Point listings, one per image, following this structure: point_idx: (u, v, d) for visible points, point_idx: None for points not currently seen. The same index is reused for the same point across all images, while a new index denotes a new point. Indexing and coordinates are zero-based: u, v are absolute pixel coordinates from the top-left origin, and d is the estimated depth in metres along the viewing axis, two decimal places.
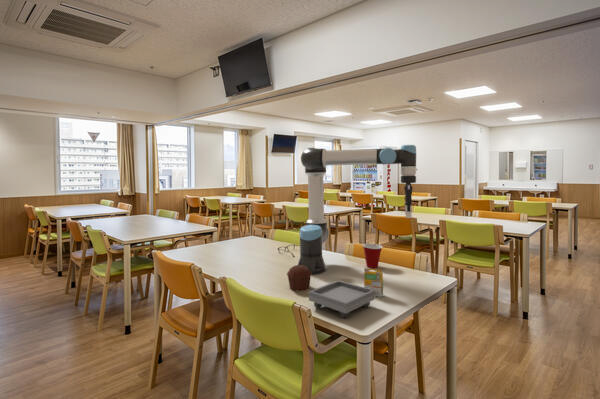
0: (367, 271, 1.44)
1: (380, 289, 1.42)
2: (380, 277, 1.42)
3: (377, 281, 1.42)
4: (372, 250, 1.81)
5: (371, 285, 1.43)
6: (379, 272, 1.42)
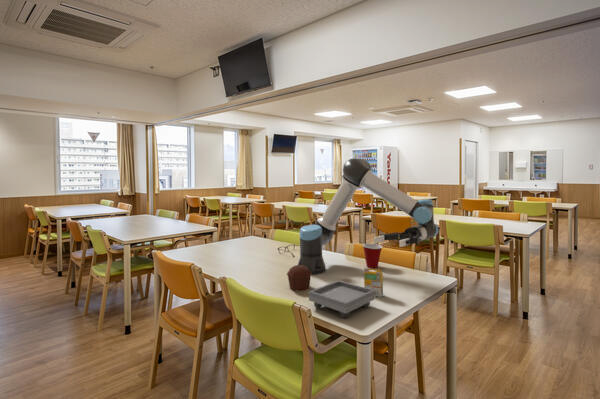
0: (367, 271, 1.44)
1: (380, 289, 1.42)
2: (380, 277, 1.42)
3: (377, 281, 1.42)
4: (372, 250, 1.81)
5: (371, 285, 1.43)
6: (379, 272, 1.42)
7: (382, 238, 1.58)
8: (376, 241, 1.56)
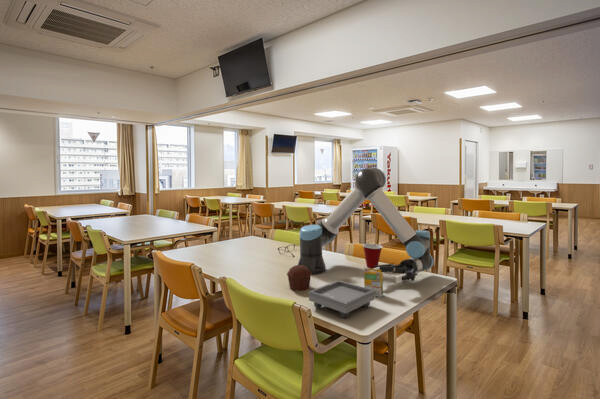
0: (367, 271, 1.44)
1: (380, 289, 1.42)
2: (380, 277, 1.42)
3: (377, 281, 1.42)
4: (372, 250, 1.81)
5: (371, 285, 1.43)
6: (379, 272, 1.42)
7: None
8: None
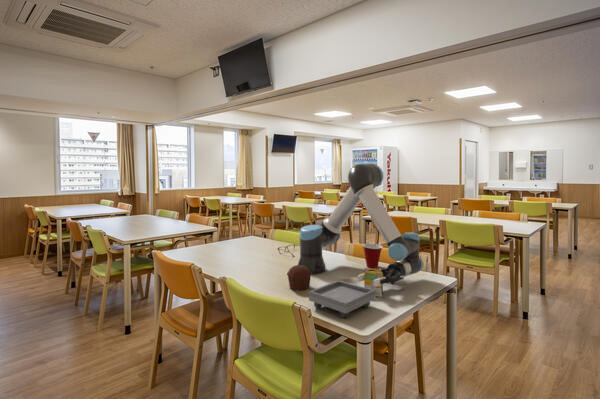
0: (367, 271, 1.44)
1: (380, 289, 1.42)
2: (380, 277, 1.42)
3: None
4: (372, 250, 1.81)
5: (371, 285, 1.43)
6: (379, 272, 1.42)
7: None
8: (360, 279, 1.45)
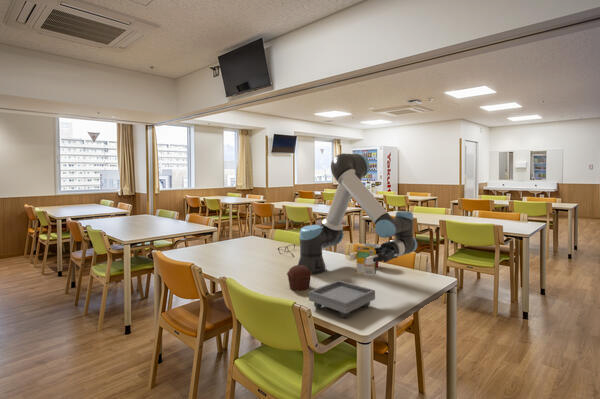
0: (360, 249, 1.37)
1: (373, 267, 1.36)
2: None
3: None
4: None
5: (364, 264, 1.37)
6: (372, 250, 1.35)
7: None
8: (352, 258, 1.38)
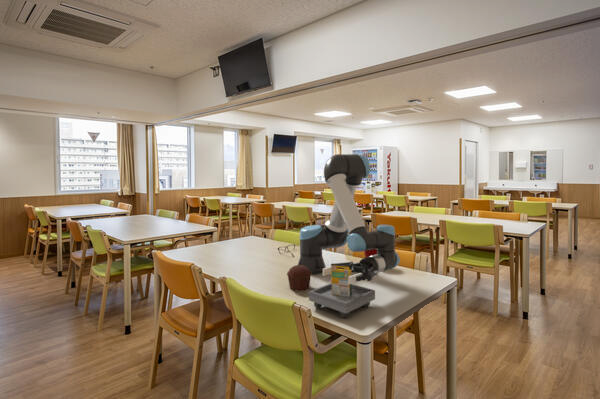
0: (334, 269, 1.31)
1: (348, 288, 1.29)
2: (348, 275, 1.29)
3: (344, 279, 1.30)
4: (372, 250, 1.81)
5: (339, 284, 1.31)
6: (347, 270, 1.29)
7: None
8: (325, 273, 1.35)
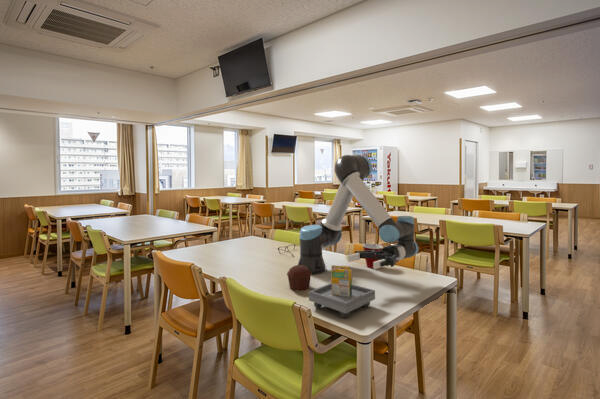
0: (334, 268, 1.31)
1: (348, 288, 1.29)
2: (348, 275, 1.29)
3: (345, 279, 1.30)
4: None
5: (339, 284, 1.31)
6: (347, 270, 1.29)
7: (357, 256, 1.48)
8: (350, 259, 1.46)
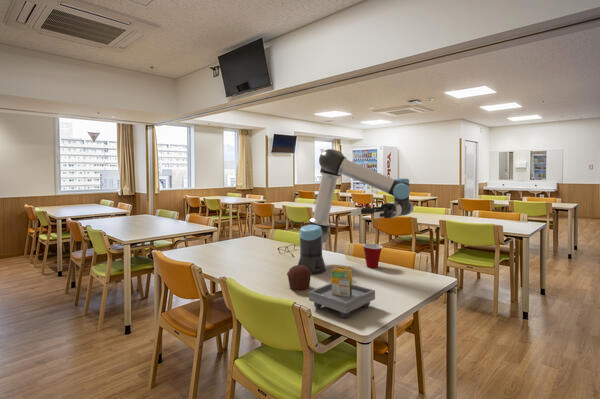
0: (334, 268, 1.31)
1: (348, 288, 1.29)
2: (348, 275, 1.29)
3: (344, 279, 1.30)
4: (372, 250, 1.81)
5: (339, 284, 1.31)
6: (347, 270, 1.29)
7: (359, 211, 1.68)
8: (353, 214, 1.65)
